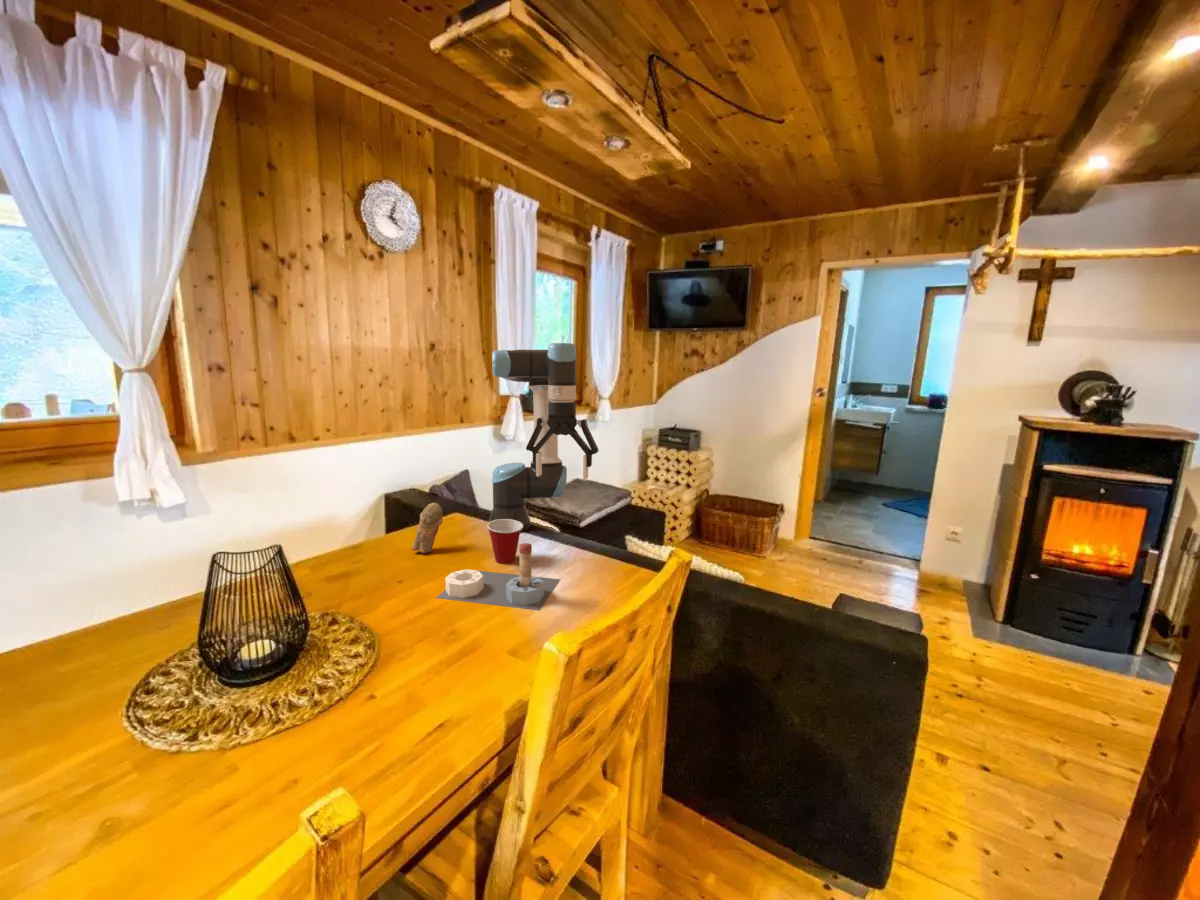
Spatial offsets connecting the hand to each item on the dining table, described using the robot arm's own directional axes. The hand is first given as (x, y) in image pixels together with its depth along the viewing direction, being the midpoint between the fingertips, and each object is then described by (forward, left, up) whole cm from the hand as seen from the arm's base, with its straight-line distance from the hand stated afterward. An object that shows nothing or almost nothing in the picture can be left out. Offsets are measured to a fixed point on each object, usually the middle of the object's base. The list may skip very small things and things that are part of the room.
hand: (562, 476), depth 139 cm
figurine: (-6, -46, -29) cm, 55 cm away
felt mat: (+14, -13, -29) cm, 34 cm away
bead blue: (+17, -5, -28) cm, 33 cm away
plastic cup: (-4, -19, -29) cm, 35 cm away
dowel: (+17, -5, -28) cm, 33 cm away
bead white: (+17, -22, -28) cm, 40 cm away
